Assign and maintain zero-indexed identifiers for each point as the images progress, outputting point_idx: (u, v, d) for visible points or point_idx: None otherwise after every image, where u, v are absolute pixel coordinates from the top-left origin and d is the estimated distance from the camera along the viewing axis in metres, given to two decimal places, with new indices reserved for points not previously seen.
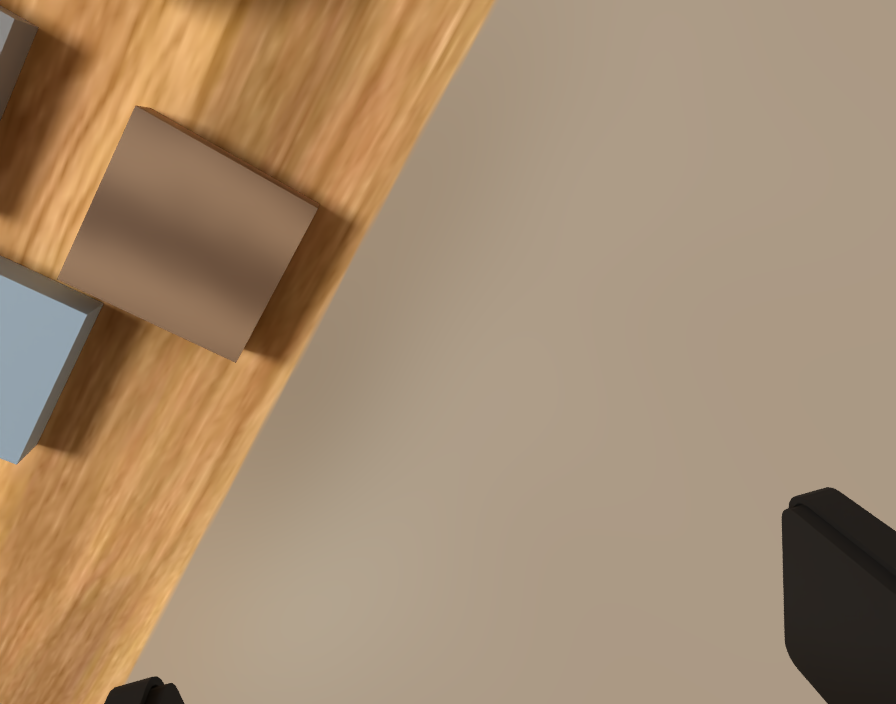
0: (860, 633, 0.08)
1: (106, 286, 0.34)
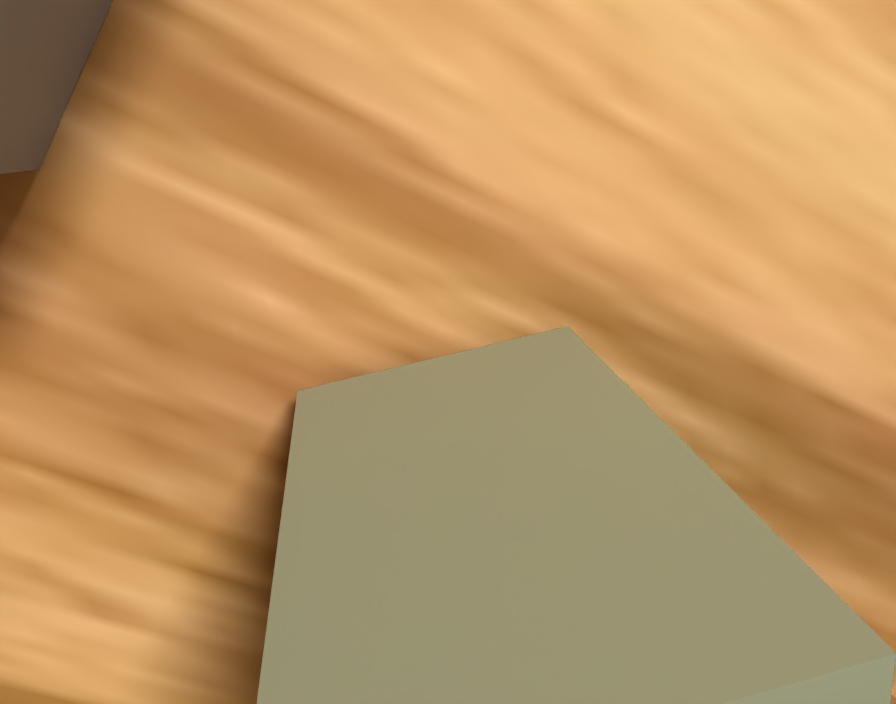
0: None
1: None
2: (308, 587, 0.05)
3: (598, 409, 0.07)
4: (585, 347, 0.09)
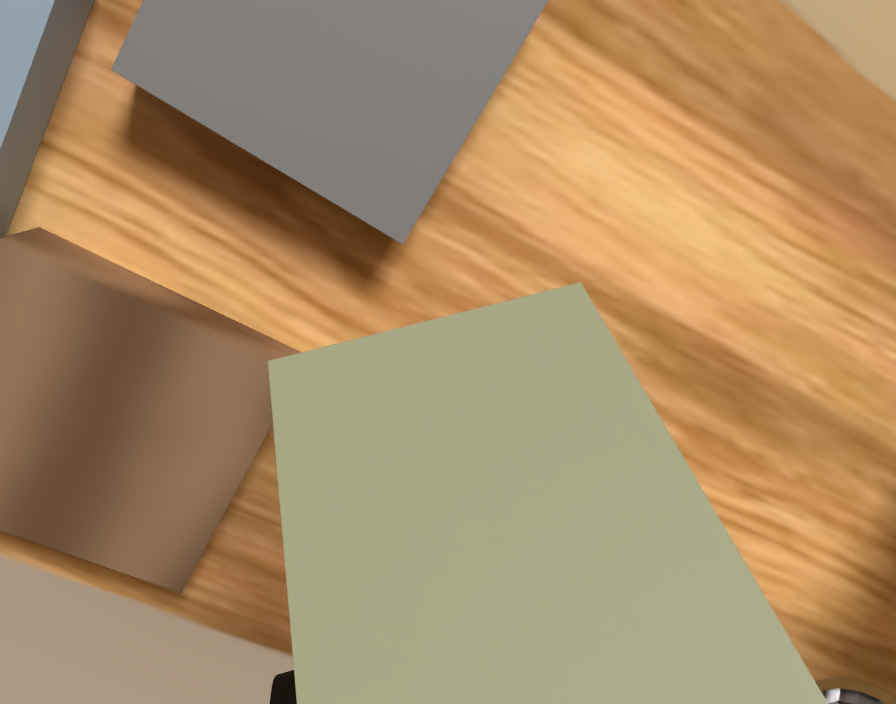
0: None
1: (1, 312, 0.21)
2: None
3: (626, 450, 0.06)
4: (604, 329, 0.08)
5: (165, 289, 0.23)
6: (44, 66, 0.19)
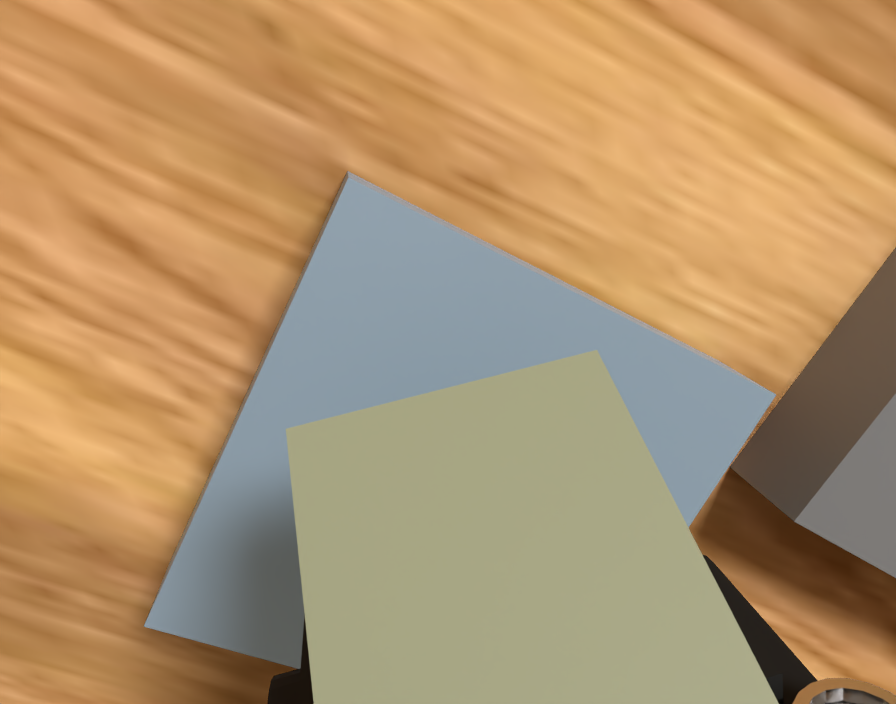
0: None
1: None
2: None
3: (642, 539, 0.07)
4: (620, 403, 0.08)
5: None
6: None
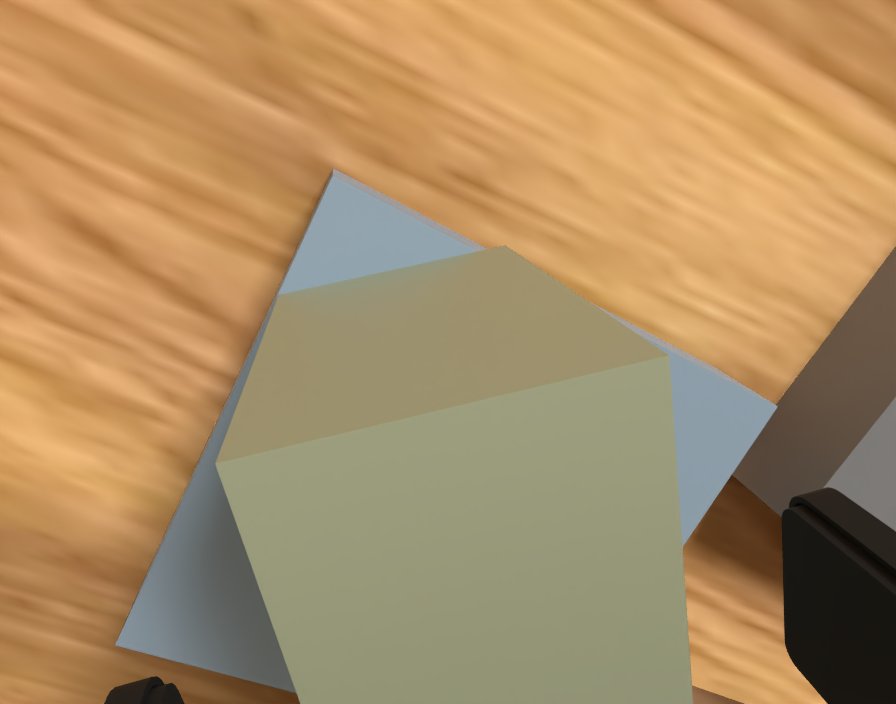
0: (860, 633, 0.08)
1: None
2: (274, 373, 0.07)
3: (513, 281, 0.09)
4: (514, 253, 0.10)
5: (696, 691, 0.19)
6: None
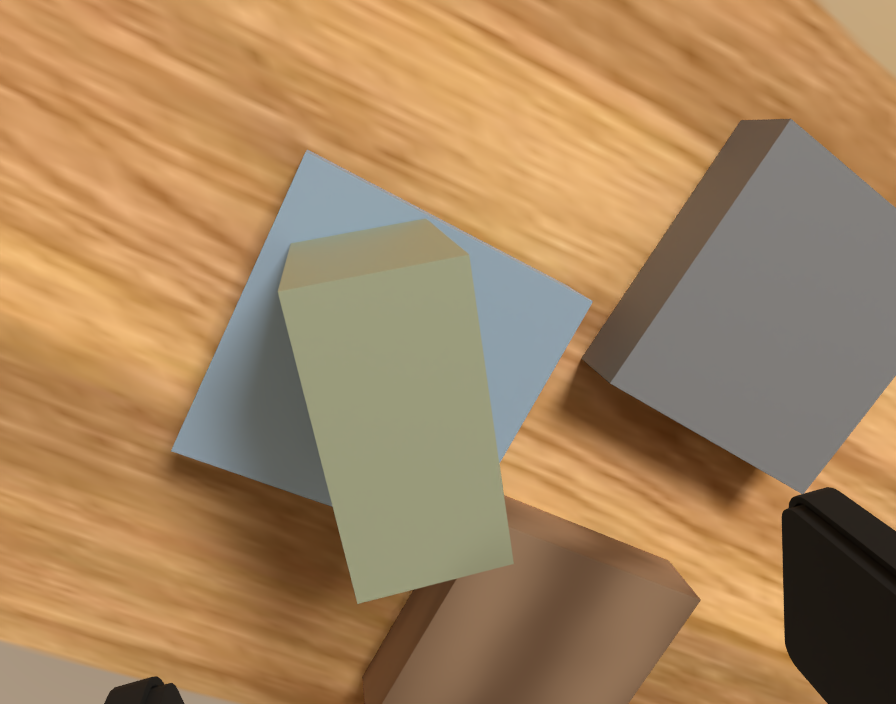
0: (860, 633, 0.08)
1: (479, 576, 0.24)
2: (296, 269, 0.15)
3: (421, 233, 0.17)
4: (428, 222, 0.18)
5: (570, 523, 0.26)
6: None
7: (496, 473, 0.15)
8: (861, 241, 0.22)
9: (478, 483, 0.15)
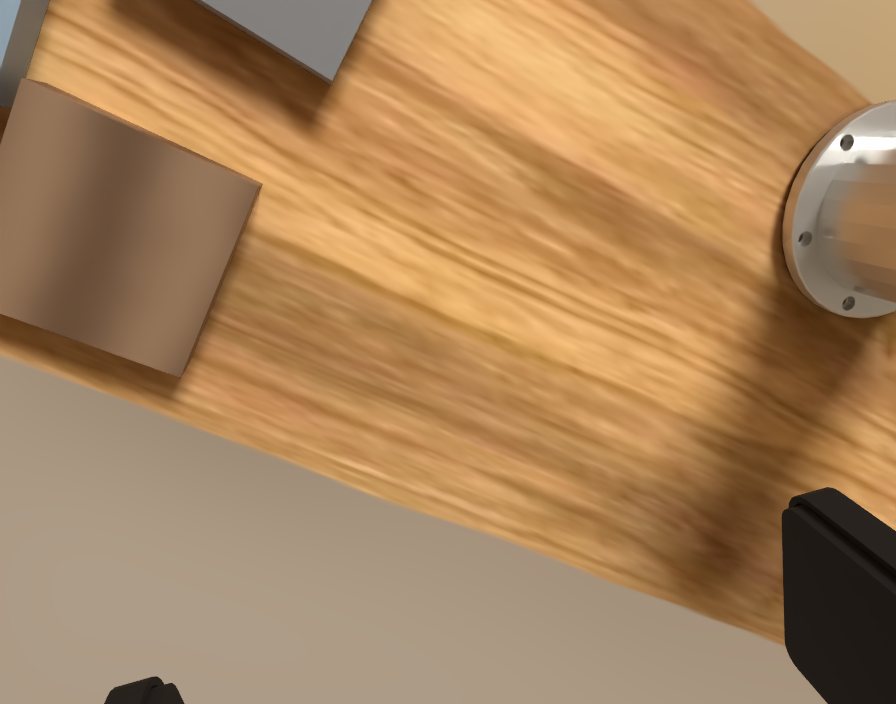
0: (860, 633, 0.08)
1: (24, 138, 0.27)
2: None
3: None
4: None
5: (149, 131, 0.30)
6: None
7: None
8: None
9: None
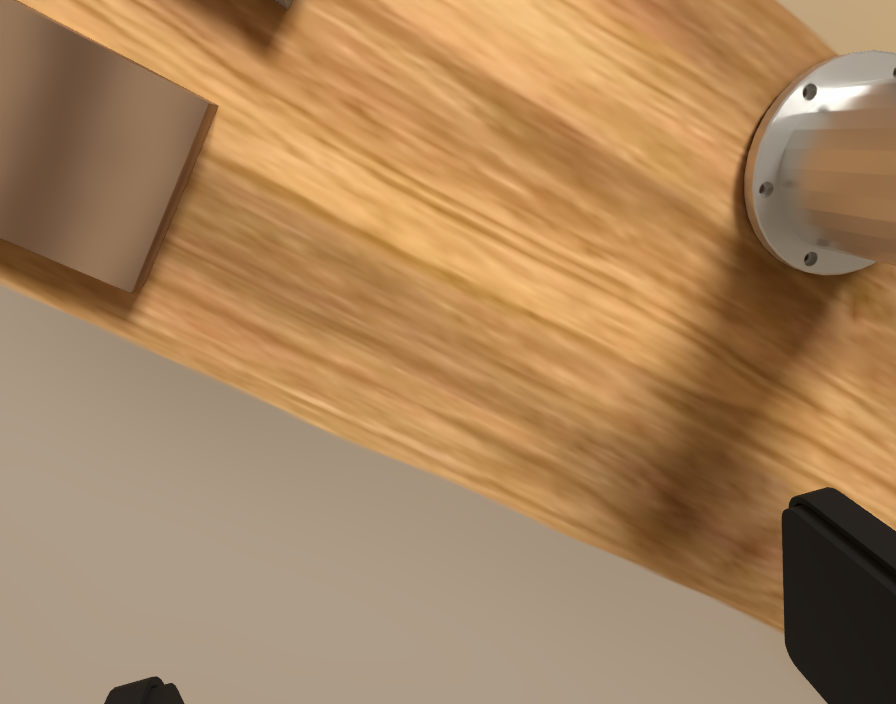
0: (860, 633, 0.08)
1: None
2: None
3: None
4: None
5: None
6: None
7: None
8: None
9: None
